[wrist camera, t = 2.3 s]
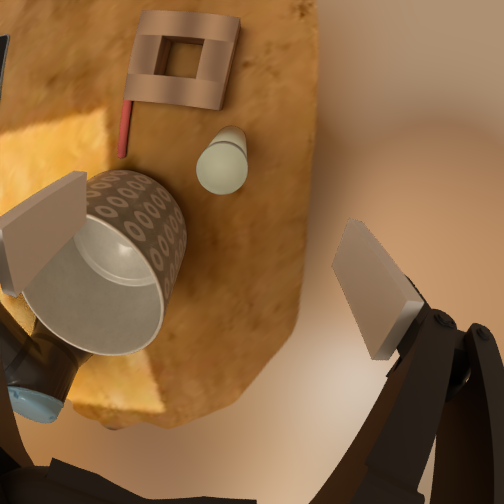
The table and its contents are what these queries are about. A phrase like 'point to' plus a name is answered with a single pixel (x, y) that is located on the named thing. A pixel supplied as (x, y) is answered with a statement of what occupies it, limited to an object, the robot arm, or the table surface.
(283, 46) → the table surface
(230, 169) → the banded green cylinder
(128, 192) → the planter
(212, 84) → the square wooden socket block
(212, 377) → the table surface
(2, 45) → the smartphone
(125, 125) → the red rod
